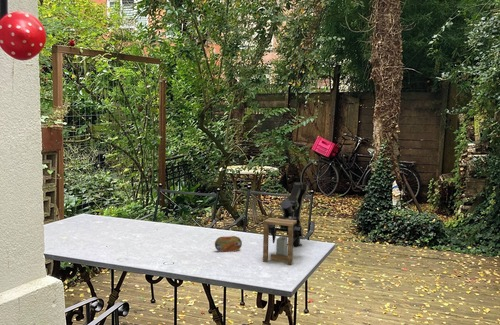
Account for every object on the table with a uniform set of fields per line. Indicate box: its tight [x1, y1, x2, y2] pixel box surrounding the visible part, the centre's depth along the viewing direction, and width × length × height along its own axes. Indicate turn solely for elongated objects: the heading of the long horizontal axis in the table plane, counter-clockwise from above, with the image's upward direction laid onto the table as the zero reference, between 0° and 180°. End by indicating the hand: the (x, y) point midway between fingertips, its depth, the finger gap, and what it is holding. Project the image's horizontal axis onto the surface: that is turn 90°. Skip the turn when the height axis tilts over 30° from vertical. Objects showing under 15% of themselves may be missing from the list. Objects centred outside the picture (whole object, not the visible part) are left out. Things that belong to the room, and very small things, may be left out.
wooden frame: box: [262, 217, 297, 266], centre depth 239 cm, size 10×15×21 cm, turn 71°
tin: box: [214, 235, 243, 253], centre depth 256 cm, size 15×3×8 cm, turn 105°
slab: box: [275, 236, 288, 256], centre depth 244 cm, size 7×4×11 cm, turn 161°
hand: (281, 243), depth 243 cm, fingers open, 9 cm apart
